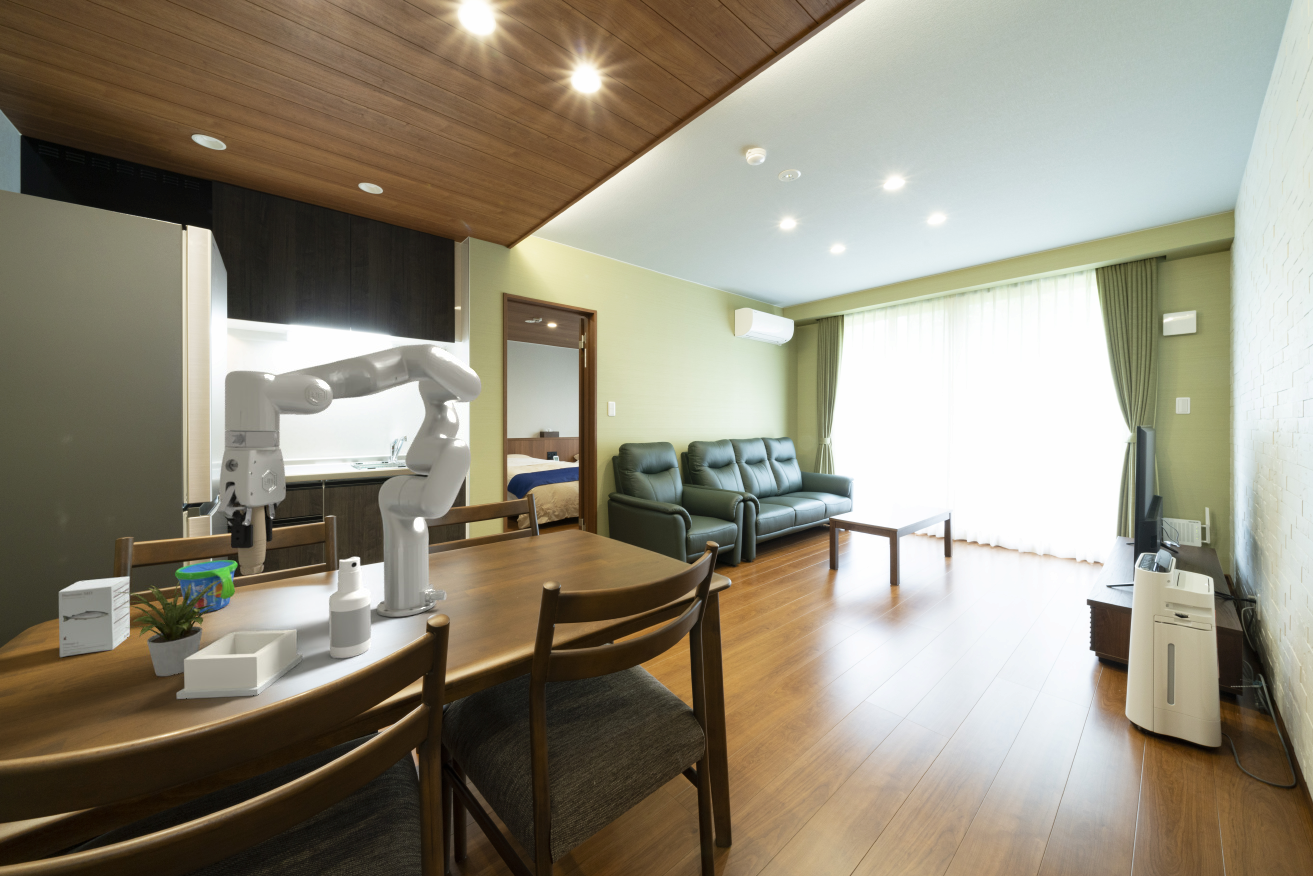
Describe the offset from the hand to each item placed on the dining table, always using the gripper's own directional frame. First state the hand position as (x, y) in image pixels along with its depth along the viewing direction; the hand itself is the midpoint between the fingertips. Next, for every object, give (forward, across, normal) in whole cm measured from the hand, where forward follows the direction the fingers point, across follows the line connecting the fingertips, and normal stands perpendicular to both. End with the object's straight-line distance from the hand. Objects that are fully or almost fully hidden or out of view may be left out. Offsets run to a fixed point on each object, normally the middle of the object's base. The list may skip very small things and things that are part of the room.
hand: (252, 543), depth 87 cm
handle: (+5, 0, 0) cm, 5 cm away
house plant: (+23, +1, +15) cm, 28 cm away
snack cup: (+23, +31, +31) cm, 49 cm away
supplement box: (+23, +12, +37) cm, 45 cm away
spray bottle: (+23, +7, -13) cm, 27 cm away
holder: (+23, -2, 0) cm, 23 cm away
